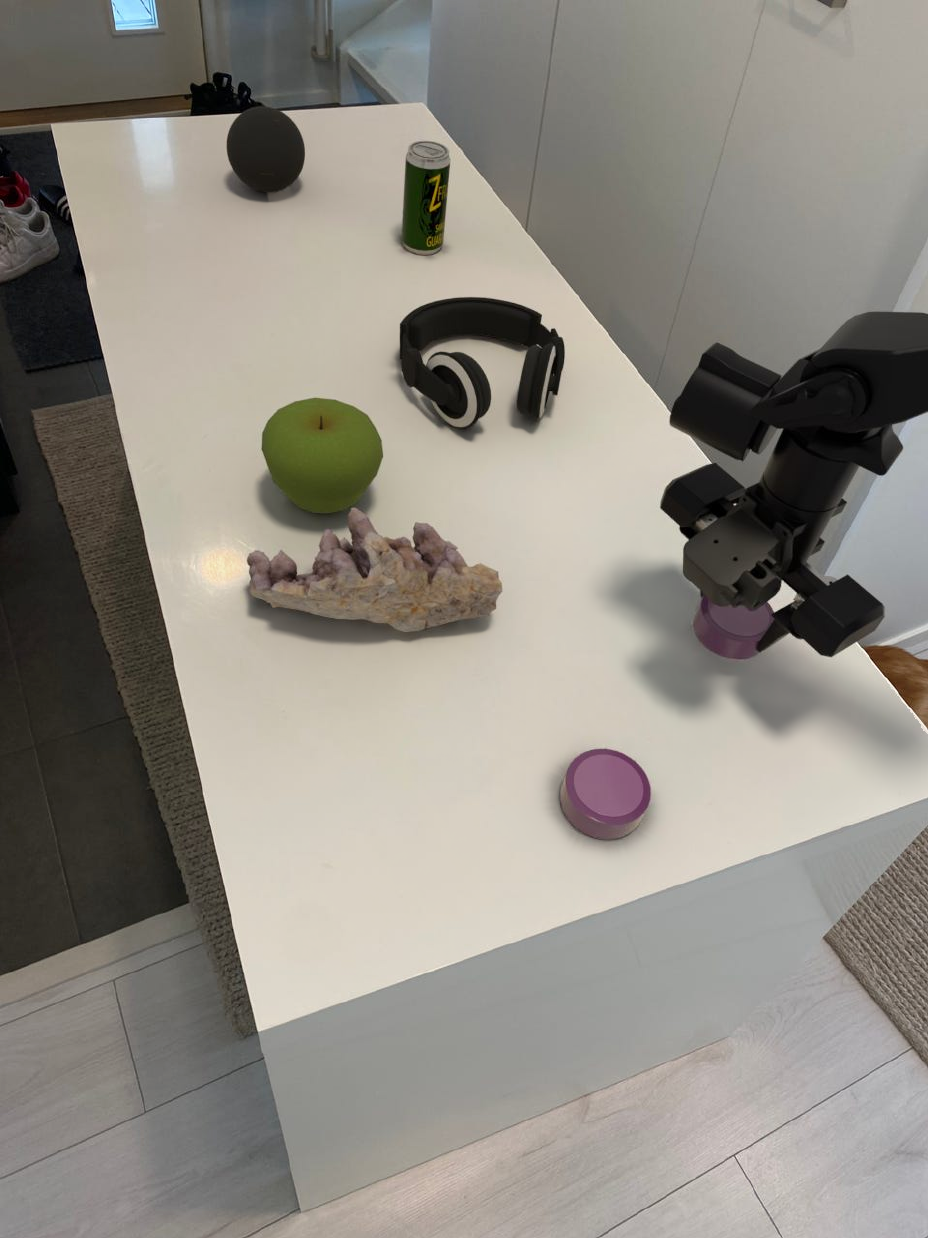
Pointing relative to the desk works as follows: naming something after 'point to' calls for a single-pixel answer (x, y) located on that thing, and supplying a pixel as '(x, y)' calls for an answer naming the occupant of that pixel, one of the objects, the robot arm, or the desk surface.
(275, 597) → the mineral specimen
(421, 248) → the green energy drink can
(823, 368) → the robot arm
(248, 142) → the speaker
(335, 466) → the apple
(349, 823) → the desk surface
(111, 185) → the desk surface
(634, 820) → the dish
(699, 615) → the dish
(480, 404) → the headphones
